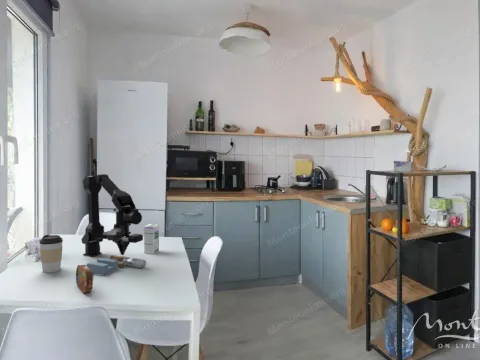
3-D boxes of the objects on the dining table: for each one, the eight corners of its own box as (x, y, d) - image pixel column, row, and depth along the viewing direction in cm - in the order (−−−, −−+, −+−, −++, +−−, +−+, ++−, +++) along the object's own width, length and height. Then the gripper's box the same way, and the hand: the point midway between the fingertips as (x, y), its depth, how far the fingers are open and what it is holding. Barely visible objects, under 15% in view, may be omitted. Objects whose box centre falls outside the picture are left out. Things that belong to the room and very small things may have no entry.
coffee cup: (68, 268, 152) (67, 234, 151) (50, 274, 143) (50, 239, 142) (52, 265, 155) (52, 232, 154) (34, 271, 146) (33, 237, 145)
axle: (122, 267, 156) (121, 259, 155) (128, 263, 160) (127, 255, 159) (141, 270, 153) (140, 262, 152) (146, 266, 157) (145, 258, 156)
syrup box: (154, 254, 176) (154, 226, 175) (143, 253, 177) (143, 225, 176) (159, 251, 182) (159, 224, 181) (148, 250, 183) (149, 223, 182)
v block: (86, 272, 147) (86, 263, 146) (101, 266, 155) (101, 257, 155) (103, 275, 144) (103, 266, 143) (118, 269, 152) (118, 260, 152)
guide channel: (98, 264, 158) (98, 260, 157) (112, 259, 166) (112, 255, 166) (122, 268, 153) (122, 263, 153) (134, 262, 162) (134, 258, 162)
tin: (75, 283, 134) (75, 262, 134) (83, 281, 136) (83, 261, 136) (85, 296, 123) (85, 273, 122) (94, 294, 124) (94, 271, 124)
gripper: (93, 222, 153) (93, 257, 154) (128, 226, 146) (127, 262, 148) (110, 218, 163) (110, 250, 164) (143, 222, 157) (143, 255, 158)
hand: (122, 254), depth 158 cm, fingers closed
